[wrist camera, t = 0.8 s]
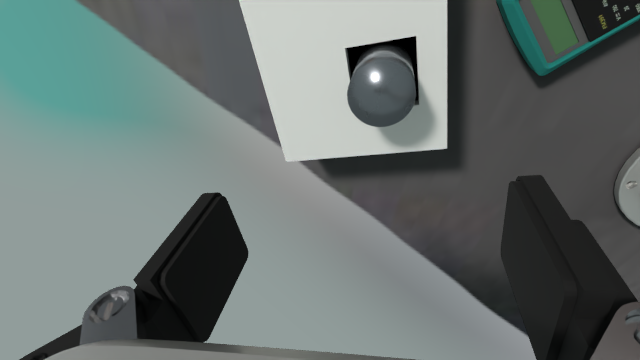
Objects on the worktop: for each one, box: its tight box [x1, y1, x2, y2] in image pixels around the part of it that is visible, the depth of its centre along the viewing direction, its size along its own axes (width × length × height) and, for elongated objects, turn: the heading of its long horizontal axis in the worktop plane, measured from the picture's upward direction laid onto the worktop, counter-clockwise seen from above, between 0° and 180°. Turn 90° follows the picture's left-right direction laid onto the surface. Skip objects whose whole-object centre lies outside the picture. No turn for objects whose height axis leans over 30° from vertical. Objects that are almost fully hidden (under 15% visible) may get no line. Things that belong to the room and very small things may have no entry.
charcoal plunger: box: [347, 42, 416, 127], centre depth 24 cm, size 4×4×6 cm
